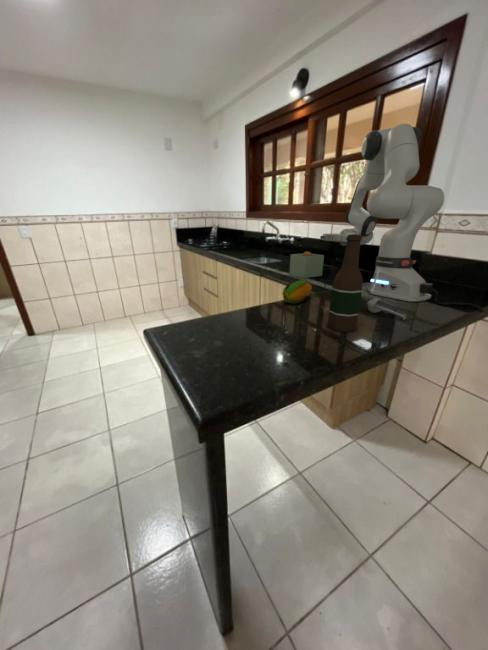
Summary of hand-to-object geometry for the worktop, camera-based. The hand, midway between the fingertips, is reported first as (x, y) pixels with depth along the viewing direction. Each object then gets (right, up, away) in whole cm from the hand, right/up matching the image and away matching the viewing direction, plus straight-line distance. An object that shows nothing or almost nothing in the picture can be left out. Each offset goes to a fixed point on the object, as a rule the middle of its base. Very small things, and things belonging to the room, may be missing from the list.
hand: (326, 237), depth 141 cm
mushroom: (-1, -44, -59) cm, 74 cm away
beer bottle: (-18, -48, -69) cm, 86 cm away
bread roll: (-11, -19, +2) cm, 22 cm away
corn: (-24, -38, -44) cm, 63 cm away
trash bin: (-11, -19, +3) cm, 22 cm away
